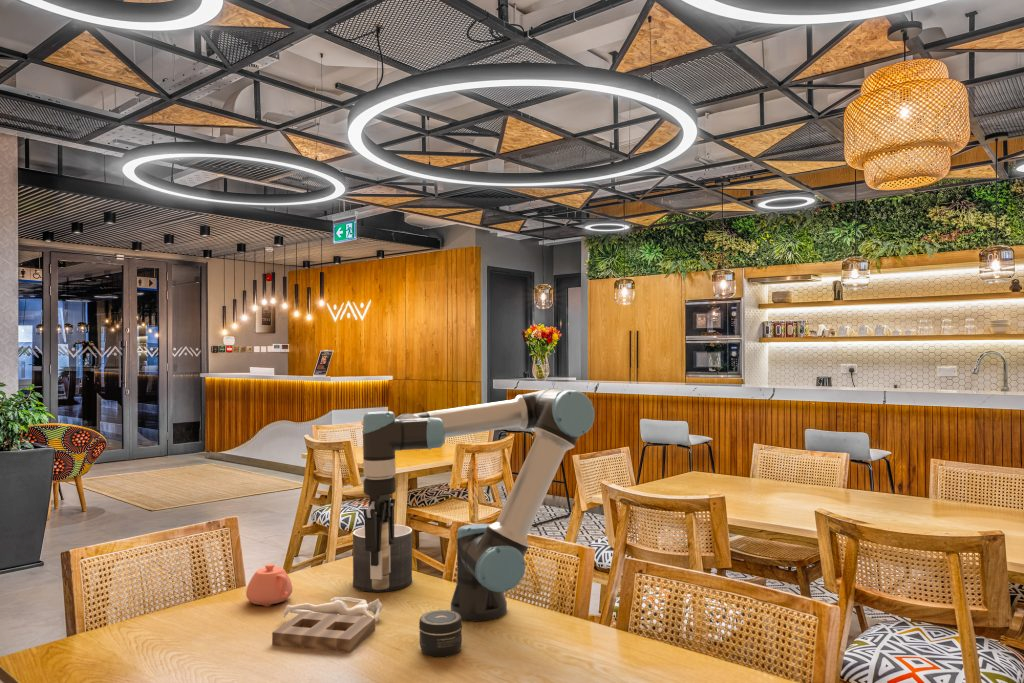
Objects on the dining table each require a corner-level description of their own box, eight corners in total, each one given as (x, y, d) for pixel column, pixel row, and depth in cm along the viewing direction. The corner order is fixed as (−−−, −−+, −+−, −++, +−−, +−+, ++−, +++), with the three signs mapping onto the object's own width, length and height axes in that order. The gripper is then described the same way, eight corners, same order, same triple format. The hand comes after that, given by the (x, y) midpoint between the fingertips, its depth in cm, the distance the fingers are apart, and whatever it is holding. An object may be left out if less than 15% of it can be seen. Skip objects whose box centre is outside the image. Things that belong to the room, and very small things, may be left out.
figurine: (284, 630, 180) (381, 627, 181) (279, 623, 176) (379, 620, 177) (289, 600, 185) (384, 598, 186) (285, 593, 180) (382, 591, 182)
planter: (343, 591, 204) (343, 537, 204) (365, 573, 221) (365, 523, 222) (401, 594, 201) (401, 539, 201) (419, 575, 218) (419, 525, 219)
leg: (392, 584, 166) (391, 521, 167) (385, 590, 162) (384, 525, 162) (376, 583, 167) (375, 521, 167) (368, 589, 163) (368, 525, 163)
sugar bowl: (274, 591, 204) (275, 556, 204) (305, 600, 196) (305, 564, 196) (237, 603, 194) (237, 566, 194) (267, 613, 186) (267, 575, 186)
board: (375, 629, 174) (375, 617, 174) (349, 652, 160) (350, 639, 160) (302, 623, 178) (302, 611, 178) (272, 645, 165) (272, 632, 165)
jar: (414, 645, 164) (414, 613, 165) (454, 638, 168) (454, 607, 168) (426, 662, 155) (426, 627, 155) (468, 654, 159) (468, 621, 159)
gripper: (379, 470, 174) (380, 564, 174) (348, 482, 158) (349, 586, 157) (407, 471, 173) (408, 565, 172) (379, 483, 156) (380, 588, 155)
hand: (380, 575), depth 165 cm, fingers closed on leg, 4 cm apart
